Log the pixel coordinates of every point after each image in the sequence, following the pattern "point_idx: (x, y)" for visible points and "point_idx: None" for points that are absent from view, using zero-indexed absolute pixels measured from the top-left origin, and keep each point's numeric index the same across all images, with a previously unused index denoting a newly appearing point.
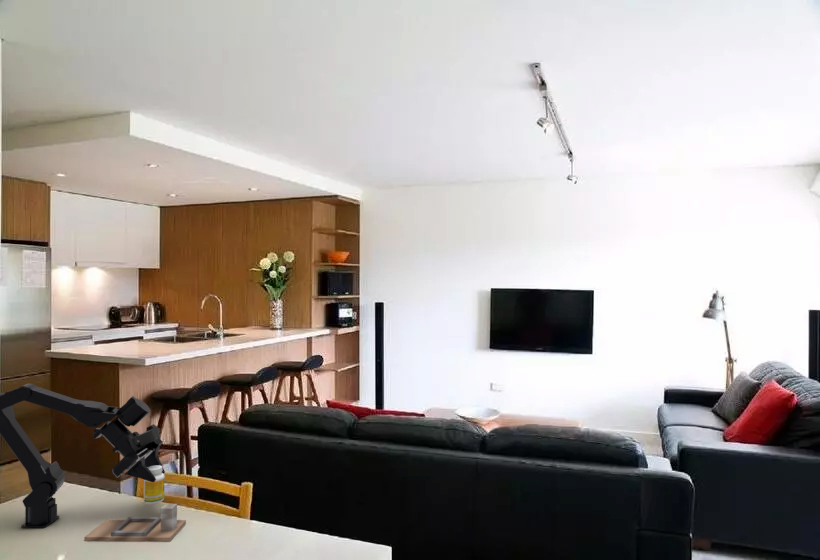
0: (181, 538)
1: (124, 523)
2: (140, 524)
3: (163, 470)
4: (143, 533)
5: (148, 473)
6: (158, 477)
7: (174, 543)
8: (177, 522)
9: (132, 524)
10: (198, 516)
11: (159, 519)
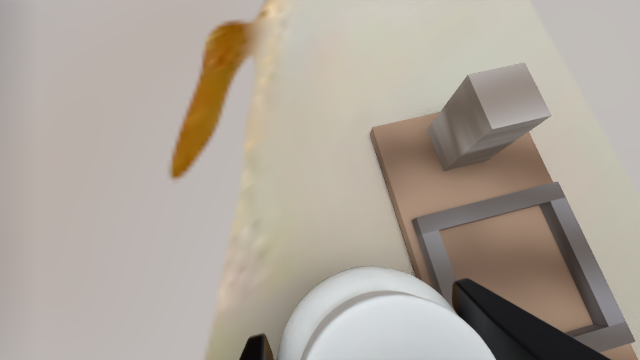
0: None
1: None
2: None
3: (259, 352)
4: (559, 191)
5: (580, 346)
6: (414, 285)
7: None
8: (401, 145)
9: None
10: (298, 127)
11: (435, 213)
